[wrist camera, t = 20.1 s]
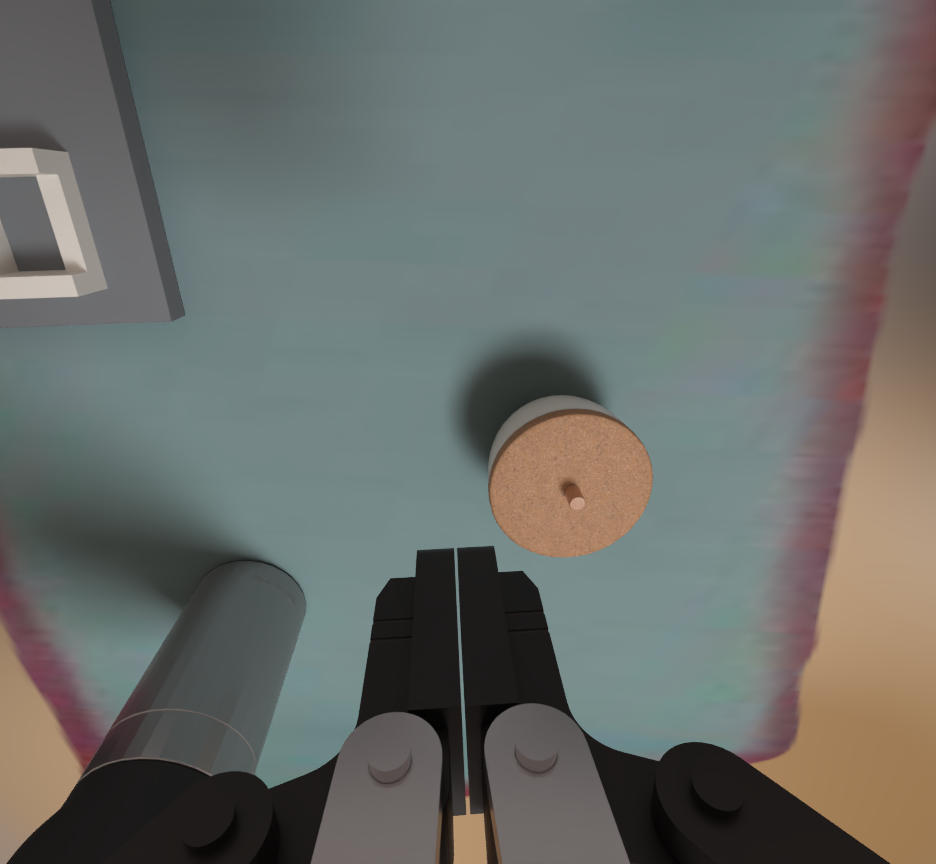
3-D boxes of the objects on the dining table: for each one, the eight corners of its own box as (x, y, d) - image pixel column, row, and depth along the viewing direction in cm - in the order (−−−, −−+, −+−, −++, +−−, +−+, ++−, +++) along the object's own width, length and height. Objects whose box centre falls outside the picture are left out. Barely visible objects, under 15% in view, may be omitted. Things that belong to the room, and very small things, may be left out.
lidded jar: (602, 356, 39) (648, 401, 31) (628, 478, 43) (675, 547, 35) (462, 400, 40) (469, 455, 31) (501, 515, 44) (517, 592, 36)
